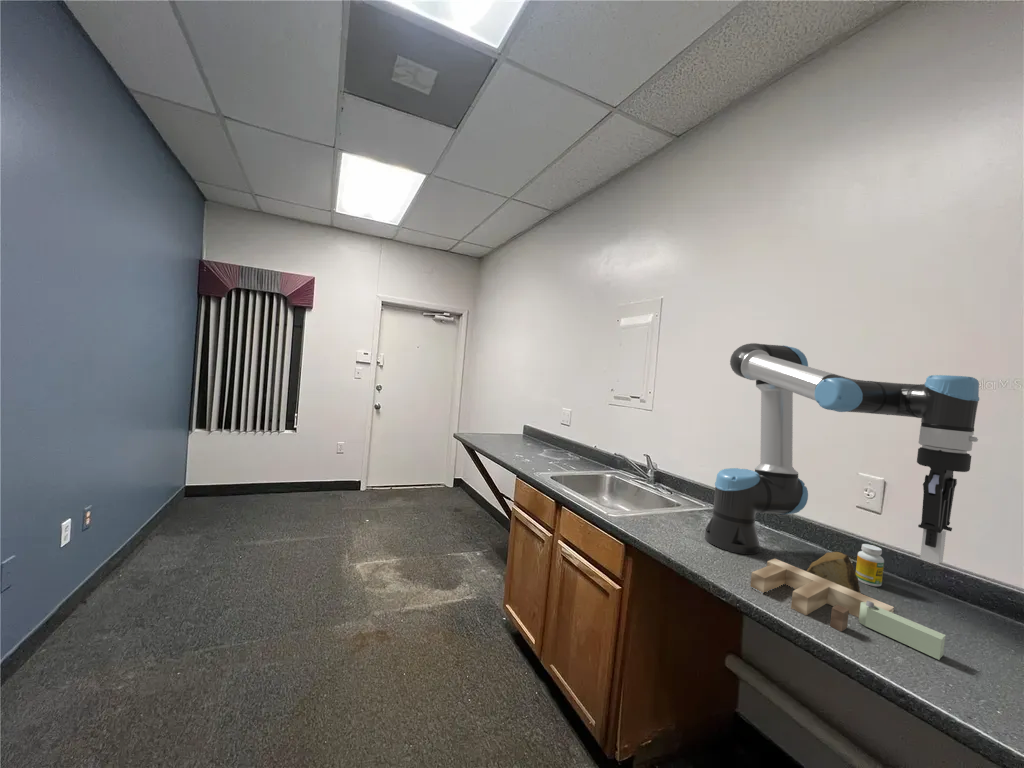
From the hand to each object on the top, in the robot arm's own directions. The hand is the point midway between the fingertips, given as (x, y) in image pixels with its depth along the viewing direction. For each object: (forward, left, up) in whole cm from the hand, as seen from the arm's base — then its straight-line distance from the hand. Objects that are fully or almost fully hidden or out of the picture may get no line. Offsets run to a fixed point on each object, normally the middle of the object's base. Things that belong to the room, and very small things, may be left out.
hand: (931, 559), depth 83 cm
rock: (-18, +7, -17) cm, 26 cm away
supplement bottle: (-14, +20, -17) cm, 30 cm away
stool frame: (-16, -9, -16) cm, 25 cm away
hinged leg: (-2, -7, -16) cm, 18 cm away
